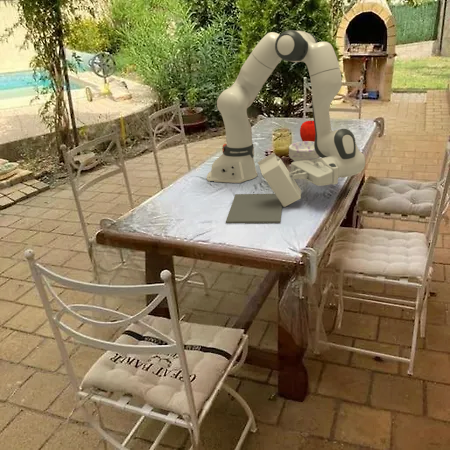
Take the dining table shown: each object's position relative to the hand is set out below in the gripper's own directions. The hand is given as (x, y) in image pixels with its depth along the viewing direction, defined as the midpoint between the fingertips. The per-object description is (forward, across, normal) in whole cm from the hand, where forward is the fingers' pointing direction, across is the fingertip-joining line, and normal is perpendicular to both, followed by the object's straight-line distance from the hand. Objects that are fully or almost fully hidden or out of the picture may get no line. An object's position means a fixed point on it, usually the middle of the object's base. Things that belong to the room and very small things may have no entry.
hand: (291, 176), depth 174 cm
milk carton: (-1, 0, +10) cm, 10 cm away
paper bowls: (-30, -42, +11) cm, 53 cm away
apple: (-45, -62, +11) cm, 78 cm away
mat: (+13, -3, +11) cm, 18 cm away
